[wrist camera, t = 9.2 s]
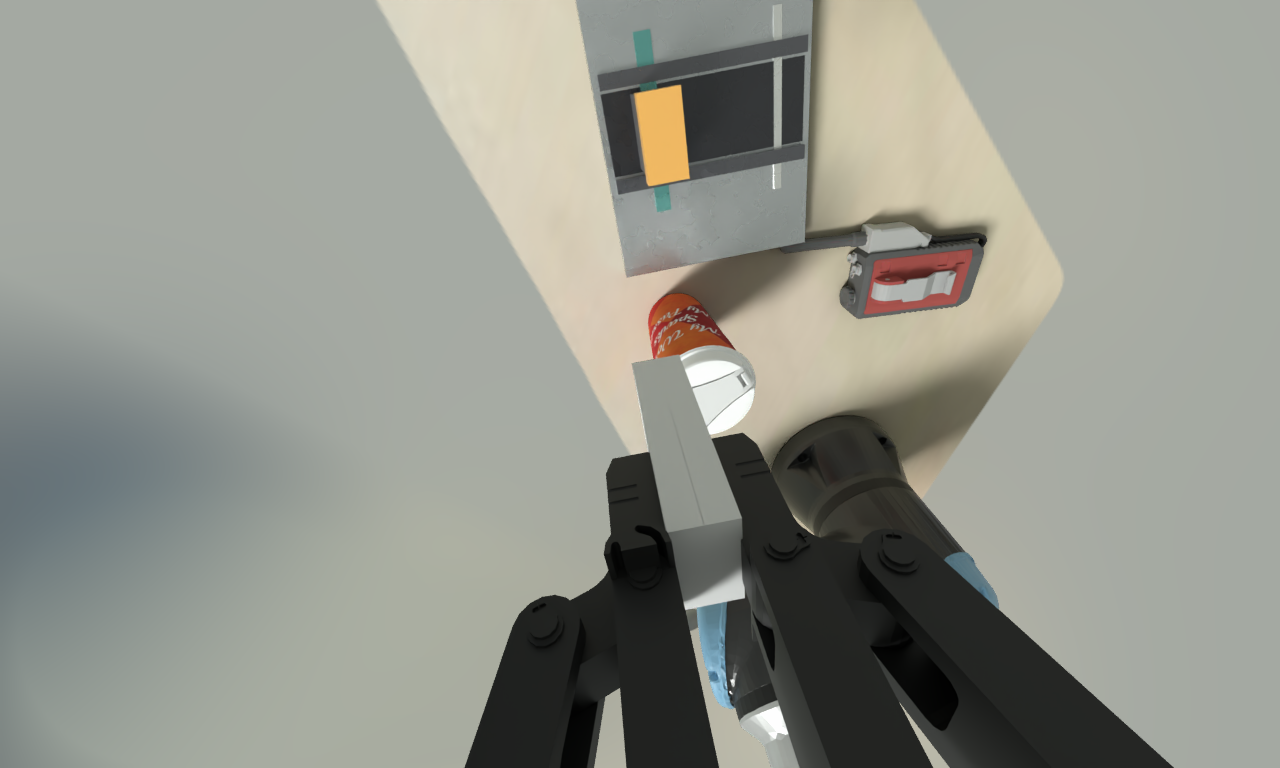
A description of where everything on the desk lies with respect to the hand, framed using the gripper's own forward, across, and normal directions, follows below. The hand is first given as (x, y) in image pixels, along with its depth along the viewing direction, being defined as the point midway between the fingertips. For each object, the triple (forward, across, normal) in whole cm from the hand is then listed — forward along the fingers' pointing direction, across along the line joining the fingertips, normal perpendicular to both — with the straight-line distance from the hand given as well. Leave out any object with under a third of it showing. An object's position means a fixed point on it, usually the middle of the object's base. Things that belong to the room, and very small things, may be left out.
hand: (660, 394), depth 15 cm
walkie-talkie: (+30, -24, +11) cm, 40 cm away
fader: (+27, -4, -5) cm, 28 cm away
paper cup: (+30, -5, +12) cm, 32 cm away
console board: (+29, -8, -5) cm, 31 cm away
